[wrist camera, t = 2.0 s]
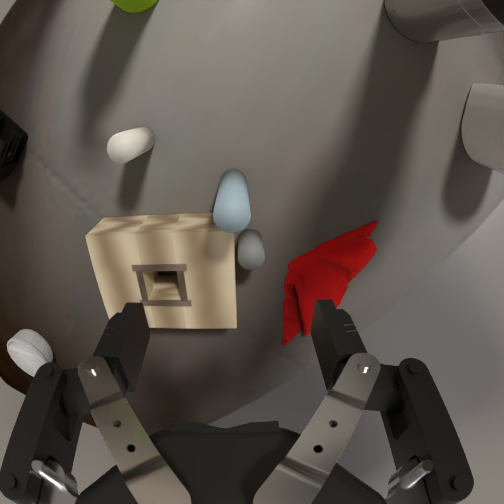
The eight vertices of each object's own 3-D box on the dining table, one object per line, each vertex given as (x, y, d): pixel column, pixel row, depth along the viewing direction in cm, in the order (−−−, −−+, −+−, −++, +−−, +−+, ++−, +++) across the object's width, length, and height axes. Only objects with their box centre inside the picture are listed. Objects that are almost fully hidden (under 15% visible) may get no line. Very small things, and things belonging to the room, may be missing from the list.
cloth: (355, 191, 38) (361, 196, 36) (406, 249, 42) (412, 256, 40) (232, 313, 46) (232, 323, 44) (293, 350, 51) (294, 359, 49)
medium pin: (154, 125, 32) (134, 130, 25) (156, 150, 33) (136, 161, 27) (130, 128, 32) (105, 134, 25) (132, 153, 33) (108, 165, 26)
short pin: (261, 228, 39) (265, 245, 34) (261, 250, 40) (264, 269, 36) (237, 229, 39) (237, 246, 34) (237, 251, 40) (238, 270, 36)
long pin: (246, 168, 35) (250, 197, 24) (246, 193, 37) (250, 232, 26) (219, 169, 35) (212, 198, 24) (220, 194, 36) (213, 233, 26)
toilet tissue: (482, 176, 36) (523, 197, 27) (445, 126, 33) (492, 138, 24) (507, 132, 32) (548, 145, 23) (473, 80, 29) (519, 84, 20)
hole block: (233, 212, 38) (233, 231, 32) (236, 301, 44) (236, 329, 39) (103, 217, 37) (84, 236, 31) (123, 301, 43) (111, 326, 38)
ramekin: (30, 317, 45) (18, 334, 40) (66, 356, 50) (57, 374, 45) (10, 331, 47) (-1, 347, 42) (42, 365, 52) (34, 381, 47)
